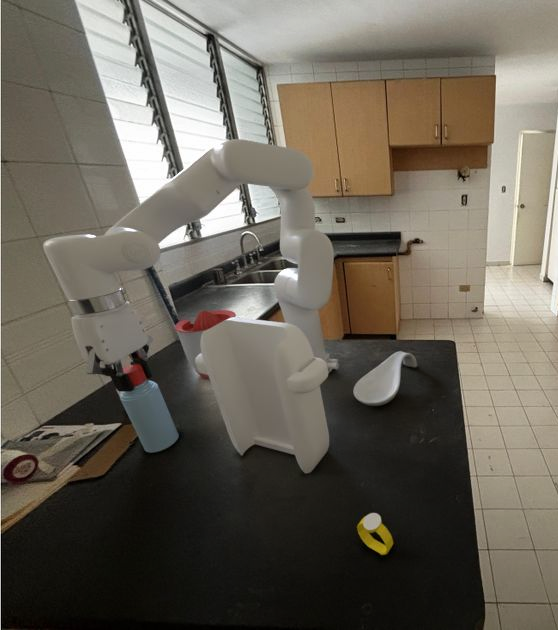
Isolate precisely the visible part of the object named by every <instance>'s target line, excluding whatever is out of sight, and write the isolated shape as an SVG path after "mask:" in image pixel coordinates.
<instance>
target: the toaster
mask: <svg viewBox="0 0 558 630" xmlns="http://www.w3.org/2000/svg"><path fill="white" fill-rule="evenodd" d="M200 347H201V353H200V354H199V355H198V356H197V357H196V359H195V363H196V366H197V369H198V371H199V372H200V373H202V374H205V375H208V376H209V381H210V385H211V387H212V391H213V393H214V396H215V400H216V402H217V405H218V408H219V411H220V414H221V416H222V417H221V418H222V419H223V423H224V425H225V428H226V431H227V434H228V436H229V439H230V441H231V443H232V445H233V447H234V448H235V450H236V451H237V453H238V454H240V456H244V454H245V452H246V451H247V450H248V449H249V448H251V447H252V446H254V445H257V446H260V447H264V448H268V449H271V450H275V451H279V452H283V453H286V454H290V455H294V456H295V459H296V462H297V464H298V466H299V468H300V470H301V471H302V472H303V473H304V474H305V475H306V474H310V473H312V472H313V471H314V469H315V468H316V467H317V465H318V464H319V463H320V462H321V460H322V459H323V457H325V455H326V454H327V452H328V451H329V447H330V433H329V427H328V422H327V417H326V411H325V407H324V402H323V401H324V400H323V396H322V390H321V385H322V384H323V382H325V381H326V380H327V378H328V377H329V373H328V368H327V364H326V362H325V361H324V360H322V359H320V358H316V357H314V355H313V351H312V348H311V346H310V343H309V341H308V339H307V337H306V336H305V334H304V333H303V332H302V331H301V330H300V329H299V328H298V327H296V326H295V325H292V324H288V323H285V322H280V321H279V322H278V321H272V320H271V321H269V320H263V319H254V318H246V317H238V316H235V317H232V318H229V319H227V320H225V321H223V322H221V323H219V324H217V325H215V326H213V327H212V328H210V329H208V330H205V331H204V332H203V333H202V335H201V339H200Z"/></svg>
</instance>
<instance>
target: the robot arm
mask: <svg viewBox="0 0 558 630" xmlns="http://www.w3.org/2000/svg"><path fill="white" fill-rule="evenodd" d="M314 177H315V169H314V164H313V162H312V161H311V158H309V156H307V154H306V153H304V152H303V151H301V150H299V149H296V148H292V147H286V146H280V145H274V144H269V143H263V142H258V141H253V140H247V139H240V138H233V139H228V140H224V141H220V142H217V143H215V144H214V145H212V146H210V147H209V148H208V149H207V150H205V151H204V152H203V153H202V154H201V155H199V156H198V157H197V158H196V159H194V160H193V161H192V162H191V163H190V164H188V165H187V166H186V167H185V168H183V170H181V171H180V172H179V173H178V174H176V175H175V176H174V177H172V178H171V179H170V180H169V181H168V182H167V183H165V184H164V185H162V186H161V187H160V188H159V189H157V190H156V191H155V192H154V193H152V195H150V196H149V197H147V198H146V199H145V200H143V201H142V202H141V203H140V204H138V205H137V206H135V207H134V208H133V209H131V210H130V211H129V212H128V213H127V214H126V215H124V216H123V217H122V218H121V219H119V220H118V221H117V222H115V224H114V225H112V226H111V227H110V228H108V230H106V231H105V233H104V234H103V235H93V234H71V235H63V236H57V237H53V238H48V239H47V240H45V241H44V242H43V245H42V248H43V251H44V253H45V257H46V258H47V260H48V263H49V264H50V266H51V268H52V270H53V272H54V274H55V276H56V278H57V281H58V283H59V285H60V287H61V288H62V290H63V293H64V295H65V297H66V299H67V301H68V303H69V306H70V307H71V310H72V311H73V313H74V315H73V316H71V321H70V322H71V327H72V332H73V336H74V338H75V341H76V344H77V348H78V350H79V352H80V354H81V357H82V359H83V361H84V362H85V364H86V369H85V374H87V375H102V376H105V377H110V379H111V381H112V383H113V385H114V387H115V390H116V389H117V390H118V391H126V392H131V391H133V390H134V386H133V384H132V382H131V380H130V378H129V375H128V374H127V373H124V372H123V368H124V367H123V364H122V361H121V360H123V359H125V358H127V357H129V359H130V360H131V361H130V365H133V364H140V365H141V366H142V368H143V371H144V373H145V375H146V379H151V378H152V377H153V374H152V371H151V369H150V367H149V364H148V362H147V361H148V360H149V355H148V353H149V350H150V346H151V344H152V342H153V340H154V338H153V337H152V336H151V335H150V334H148V333H147V330H146V329H145V326H144V324H143V322H142V320H141V318H140V316H139V315H138V313H137V312H136V310H135V308H134V307H133V305H132V304H131V302H129V301H127V299H126V296H125V294H126V293H127V291H126V289H125V288H123V287H121V285H120V283H119V280H118V278H117V275H116V273H118V272H132V271H133V272H134V271H143V270H146V269H149V268H151V267H153V266H154V265H156V264H157V263H158V261H160V257H161V253H162V252H161V247H160V243H162V241H164V240H165V239H166V238H167V237H168V236H170V235H171V234H173V233H174V232H176V231H177V230H179V229H180V228H182V227H185V226H186V225H189V224H192V223H194V222H198V221H199V220H202V219H203V218H206V216H208V215H209V214H211V212H212V211H214V210H215V209H216V208H217V207H218V206H219V205H220V204H221V203H222V202H223V201H224V200H226V198H228V197H229V196H230V195H231V194H232V193H233V192H235V191H236V190H237V189H238V187H240V186H241V185H254V186H261V187H269V189H271V191H272V192H273V193H274V195H275V196H276V198H277V200H278V203H279V208H280V235H279V251H280V255H281V256H282V257H283V258H284V259H285V260H286V261H288V262H290V263H292V264H295V265H297V267H287V268H285V269H282V270H281V271H280V272H278V274H277V275H276V277H275V278H274V282H273V289H274V293H275V297H276V299H277V302H278V304H279V307H280V310H281V313H282V316H283V321H284V323H288V324H292V325H295V326H296V327H298V328H299V329H300V330H301V331H302V332H303V333H304V334H305V336H306V337H307V339H308V341H309V343H310V346H311V348H312V351H313V355H314V357H316V358H320V359H322V360H324V361H325V362H326V364H327V368H328V374H330V373H331V372H332V371H333V370H339V368H340V364H339V359H338V358H332V357H331V356H330V353H328V352H326V346H325V340H324V335H323V329H322V323H321V317H320V313H319V310H321V309H323V308H324V307H325V306H327V304H328V303H329V300H330V297H331V295H332V287H333V275H334V274H333V273H334V259H335V253H334V246H333V244H332V241H331V240H330V238H329V237H328V235H326V234H325V233H324V232H322V231H320V230H317V229H316V207H315V202H314V198H313V195H312V194H311V192H310V190H309V188H308V187H309V185H311V184H312V183H313V179H314ZM101 365H102V367H101ZM117 390H116V391H117Z"/></svg>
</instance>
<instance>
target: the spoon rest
mask: <svg viewBox="0 0 558 630" xmlns="http://www.w3.org/2000/svg"><path fill="white" fill-rule="evenodd" d="M402 365H404V366H405V367H410V368H417V367H418V362H417V359H416V357H415V356H414V355H413V354H412V353H410V352H405V351H402V350H400V351H396V352H394V353H392V354H391V355H390V356H389V357H388V358H386V359H385V360H384V361H383V362H381V363H380V364H379V365H377V366H376V367H374V368H373V369H372V370H370V371H369V372H368V373H366V374H365V375H364V376H362V377H361V378H360V379H359V380H358V381H357V382H356V383H355V385H354V387H353V396H354V397H355V399H356V400H357V401H358V402H360V403H362V404H364V405H366V406H369V407H379V406H383V405H386V404H388V403H390V402H391V401H392V400H393V399H394V398H395V397H396V395H397V394H398V391H399V389H400V386H401V373H402Z"/></svg>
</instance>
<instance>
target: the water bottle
mask: <svg viewBox="0 0 558 630" xmlns="http://www.w3.org/2000/svg"><path fill="white" fill-rule="evenodd" d="M119 400H120V402H121V404H122V406H123V408H124V409H125V412H126V414H127V416H128V418H129V420H130V422H131V424H132V427H133V428H134V430H135V433H136V435H137V437H138V439H139V441H140V443H141V445H142V447H143V449H144V451H145V452H146V453H148V454H149V453H150V454H151V453H158V452H161V451H163V450H166V449H168V448H170V447H171V446H173V444H175V443H176V442H177V441H178V439H179V432H178V430H177V428H176V425H175V423H174V421H173V420H174V419H173V418H172V415H171V414H170V411H169V409H168V406H167V404H166V402H165V398H164V397H163V394H162V392H161V389H160V387H159V385H158V383H156V382H155V381H152V380H149V379H146V380H145V381H144V382H143V383H141V384H139V385H137V386H134V390H133V391H131V392H126V391H122V393H121V394H120V396H119Z"/></svg>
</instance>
